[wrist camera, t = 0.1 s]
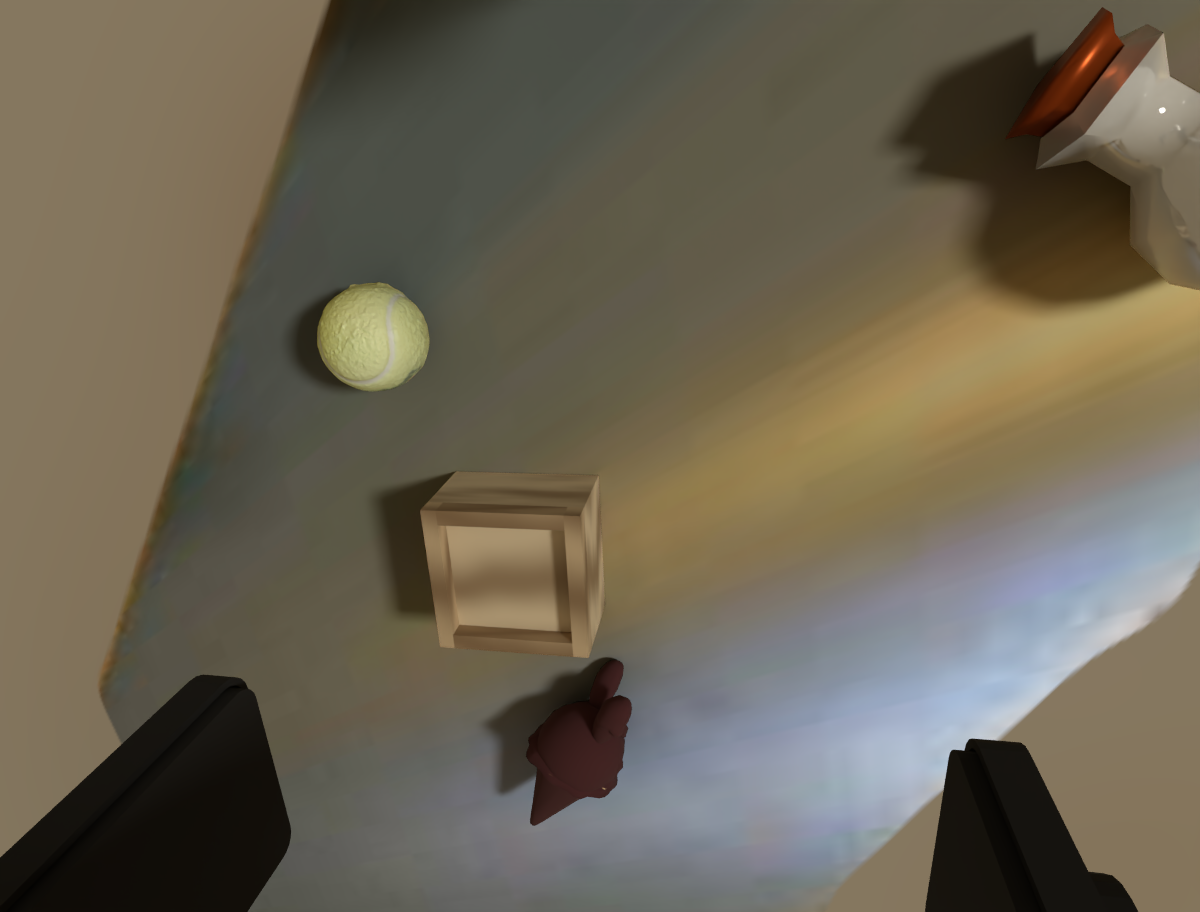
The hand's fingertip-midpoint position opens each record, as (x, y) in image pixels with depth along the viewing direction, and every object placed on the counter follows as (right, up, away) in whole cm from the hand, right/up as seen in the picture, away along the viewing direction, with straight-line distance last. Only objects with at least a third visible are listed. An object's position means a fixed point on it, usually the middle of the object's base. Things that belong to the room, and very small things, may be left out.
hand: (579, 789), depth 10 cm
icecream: (-1, -16, +47) cm, 50 cm away
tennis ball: (-13, +13, +38) cm, 42 cm away
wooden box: (-4, -1, +42) cm, 42 cm away
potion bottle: (+28, +19, +27) cm, 44 cm away
